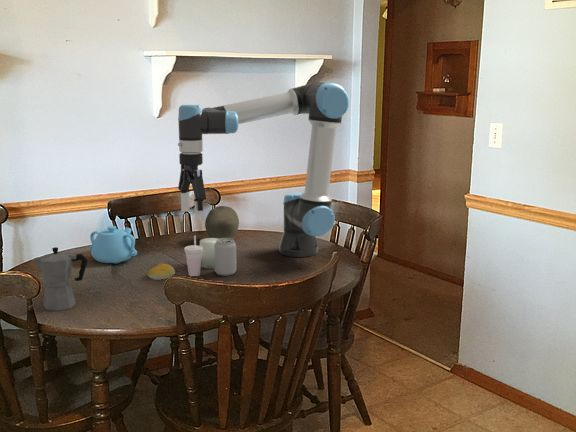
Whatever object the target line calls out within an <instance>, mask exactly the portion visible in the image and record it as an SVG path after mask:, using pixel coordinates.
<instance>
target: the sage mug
mask: <svg viewBox="0 0 576 432" xmlns="http://www.w3.org/2000/svg"><path fill="white" fill-rule="evenodd" d="M217 239H218V238H210V237H206V238H201V239H200V240H199V246H202V247H203V251H202V258H201V268H203V267H204V269H215V257H214V244H215V243H216V240H217Z"/></svg>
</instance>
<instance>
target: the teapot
mask: <svg viewBox="0 0 576 432" xmlns="http://www.w3.org/2000/svg"><path fill="white" fill-rule="evenodd" d="M95 234H96V237H95ZM89 236H90V241H91V245H90V246H89V250H90V251H91V254H90V255H91V257H93V259H94V260H95V261H97V262H99V263H102V264H103V263H104V264H114V265H118V264H120V263H122V262H126V261H129V260H130V259H132V257H136V256H137V255H138V251H137V250H136V249H135V245H136V238H135V236H134V235H132V228H130V227H125V228H124V229H122V228H117V226H116V225H109V226H107V229H104V230H101V231H98V230H95V231H92V232H91V233H90V235H89Z"/></svg>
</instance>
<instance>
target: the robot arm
mask: <svg viewBox="0 0 576 432" xmlns="http://www.w3.org/2000/svg"><path fill="white" fill-rule="evenodd" d="M349 105H350V97H349V95H348V93H347V91H346V89H344V87H343V86H342V85H339V84H337V83H334V82H319V81H317V82H310V83H308V84H303V85H301V86H297V87H293V88H289V89H288V90H287V92H283V93H278V94H273V95H268V96H263V97H258V98H252V99H248V100H244V101H239V102H233V103H229V104H223V105H219V106H215V107H210V106H209V107H204V108H203V107H202V106H201V105H200V104H182V105H180V106H179V107H178V118H177V120H178V143H177V146H178V147H179V148H178V151H179V152H180V153H179V154H178V156H179V165H180V174H179V181H178V190H179V192H180V208H181V209H180V211H181V213H185V212H190V192H191V191H190V186H192V187H191V188H192V191H193V194H194V199H193V202H194V221H204V215H205V214H204V201H205V200H207V195H206V188H205V184H204V179H203V170H202V169H199V167H198V166H201V165H203V160H204V159H203V153H202V152H203V135H208V134H209V135H229V134H235V133H237V131H238V130H239V125H242V124H246V123H250V122H251V123H252V122H255V121H260V120H265V119H271V118H273V117H274V118H275V117H278V116H284V115H288V114H292V115H293V116H296V115H308V122H309V123H310V124H311V131H310V133H311V134H310V141H309V148H308V159H307V169H306V178H305V184H304V186H305V187H304V191H303V192H294V193H293V192H291V193H287V194H285V195H284V196H283V203H282V204H283V233H282V236H281V239H280V242H279V245H278V251H279V253H280V254H281V255H284V256H287V257H293V258H306V257H312V256H315V255H317V254H318V253H319V245H318V242H317V238H318V237H323V236H325V235H327V234H328V233H329V232H330V231H331V230H332V229H333V227H334V225H335V221H336V220H335V219H336V218H335V217H336V216H335V214H334V212H333V209H332V201H333V200H332V198H331V196H330V195H329V194H330V193H329V191H330V190H329V189H330V183H331V175H332V167H333V166H332V165H333V157H334V150H335V142H336V141H335V140H336V132H337V128H338V127H339V126H340V125H341V124H342V119H343V116H344V115H345V114H346V113H347V111H348V109H349ZM316 237H317V238H316Z"/></svg>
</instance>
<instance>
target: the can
mask: <svg viewBox="0 0 576 432" xmlns="http://www.w3.org/2000/svg"><path fill="white" fill-rule="evenodd" d="M214 257H215V268H214V272H215V273H216V275H219V276H224V277H226V276H227V277H229V276H233V275H234V274H235V273H236V272H237V244H236V242H235V239H233V238H220V239H217V240H216V243H215V244H214Z"/></svg>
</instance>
